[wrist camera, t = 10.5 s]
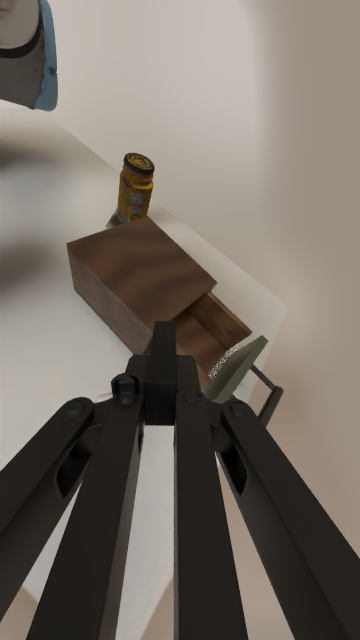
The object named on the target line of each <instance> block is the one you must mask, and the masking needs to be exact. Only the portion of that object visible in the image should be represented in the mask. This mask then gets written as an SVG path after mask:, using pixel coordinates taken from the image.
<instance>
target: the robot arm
mask: <svg viewBox="0 0 360 640" xmlns="http://www.w3.org/2000/svg"><path fill="white" fill-rule="evenodd" d="M56 71H57V58H56V45H55V34H54V25H53V18H52V12H51V8H50V6H49V4H48V2H47V1H46V0H0V99H2V100H5V101H9V102H12V103H16V104H19V105H23V106H26V107H28V108H30V109H33V110H34V109H40V110H45V111H52V110H54V109H55V107H56V105H57V97H58V81H57V73H56ZM111 386H112V395H113V397H112V398H110V399H108V400H105V401H101V402H97V403H93V402H92V401H91V400H90V399H88V398H86V397H79V398H74V399H72V400H70V401H68V402H66V403H65V404H64V405H63V406H62V407H61V408H60V409H59V410H58V411H57V412H56V413H55V414H54V415H53V416H52V417H51V418H50V419H49V420H48V421H47V423H46V424H45V425H44V426H43V427H42V428H41V429H40V430H39V431H38V432H37V433H36V434H35V435H34V436H33V437H32V438H31V440H30V441H29V442H28V443H27V444H26V445H25V446H24V447H23V448H22V449H21V450H20V451H19V452H18V453H17V454H16V456H15V457H14V458H13V459H12V460H11V461H10V462H9V463H8V464H7V465H6V466H5V467H4V468H3V469H2V470H1V471H0V622H1V620H2V619H3V617H4V615H5V613H6V612H7V610H8V608H9V606H10V605H11V603H12V601H13V600H14V598H15V596H16V594H17V592H18V591H19V589H20V587H21V586H22V584H23V582H24V581H25V579H26V577H27V575H28V574H29V572H30V570H31V568H32V567H33V565H34V563H35V562H36V560H37V558H38V556H39V555H40V553H41V551H42V549H43V548H44V546H45V544H46V543H47V541H48V539H49V537H50V536H51V534H52V532H53V530H54V529H55V527H56V525H57V523H58V522H59V520H60V518H61V517H62V515H63V513H64V511H65V510H66V508H67V506H68V504H69V503H70V501H71V499H72V498H73V496H74V494H75V492H76V491H77V489H78V487H79V485H80V484H81V482H82V484H81V486H80V489H79V492H78V495H77V498H76V500H75V503H74V506H73V509H72V512H71V514H70V517H69V520H68V523H67V526H66V528H65V531H64V534H63V537H62V540H61V542H60V545H59V548H58V551H57V554H56V556H55V559H54V562H53V565H52V568H51V570H50V573H49V576H48V579H47V582H46V584H45V587H44V590H43V593H42V596H41V598H40V601H39V604H38V607H37V610H36V613H35V615H34V618H33V621H32V624H31V627H30V629H29V632H28V635H27V638H26V640H115V636H116V629H117V622H118V615H119V608H120V601H121V593H122V586H123V579H124V572H125V565H126V558H127V551H128V544H129V537H130V529H131V522H132V515H133V508H134V501H135V494H136V487H137V480H138V473H139V465H140V458H141V451H142V444H143V437H144V433H143V428H144V421H145V425H160V426H174V444H173V447H174V640H248V634H247V629H246V624H245V618H244V612H243V607H242V601H241V596H240V590H239V585H238V579H237V573H236V569H235V563H234V557H233V551H232V546H231V540H230V535H229V529H228V524H227V518H226V512H225V507H224V501H223V496H222V490H221V485H220V479H219V473H218V468H217V462H216V457H215V452H216V455H217V457H218V460H219V462H220V464H221V467H222V469H223V471H224V474H225V476H226V478H227V481H228V483H229V485H230V488H231V490H232V493H233V495H234V497H235V500H236V502H237V504H238V507H239V509H240V511H241V514H242V516H243V519H244V521H245V523H246V525H247V528H248V530H249V533H250V535H251V537H252V539H253V542H254V544H255V547H256V549H257V552H258V554H259V556H260V558H261V561H262V563H263V565H264V568H265V570H266V573H267V575H268V578H269V580H270V582H271V585H272V587H273V589H274V592H275V594H276V596H277V599H278V601H279V603H280V606H281V608H282V611H283V613H284V615H285V617H286V620H287V622H288V625H289V627H290V629H291V632H292V634H293V636H294V639H295V640H360V558H359V557H358V556H357V554H356V553H355V552H354V550H353V549H352V547H351V546H350V545H349V543H348V542H347V540H346V539H345V538H344V536H343V535H342V533H341V532H340V531H339V529H338V528H337V527H336V525H335V524H334V522H333V521H332V520H331V519H330V517H329V516H328V514H327V513H326V511H325V510H324V509H323V507H322V506H321V504H320V503H319V502H318V500H317V499H316V497H315V496H314V495H313V493H312V492H311V490H310V489H309V488H308V487H307V485H306V484H305V482H304V481H303V479H302V478H301V477H300V475H299V474H298V473H297V471H296V470H295V468H294V467H293V466H292V464H291V463H290V461H289V460H288V459H287V457H286V456H285V454H284V453H283V452H282V450H281V449H280V447H279V446H278V445H277V443H276V442H275V441H274V439H273V438H272V436H271V435H270V434H269V432H268V431H267V429H266V428H265V427H264V425H263V424H262V423H261V421H260V420H259V418H258V417H257V416H256V414H255V413H254V411H253V410H252V409H251V407H250V406H249V405H248V404H247V403H245V402H243V401H242V400H238V399H229V400H226V401H225V402H224V403H223V404H220V403H216V402H213V401H211V400H209V399H207V398H206V397H205V396H204V395H203V393H202V391H201V387H200V381H199V375H198V369H197V363H196V360H195V359H194V357H193V356H192V355H176V321H155V325H154V330H153V335H152V340H151V346H150V351H149V355H140V354H134V355H133V356H132V357H131V358H130V359H129V362H128V365H127V368H126V371H125V373H122V374H119V375H117V376H116V377H115V378H113V380H112V381H111ZM82 480H83V481H82Z"/></svg>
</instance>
